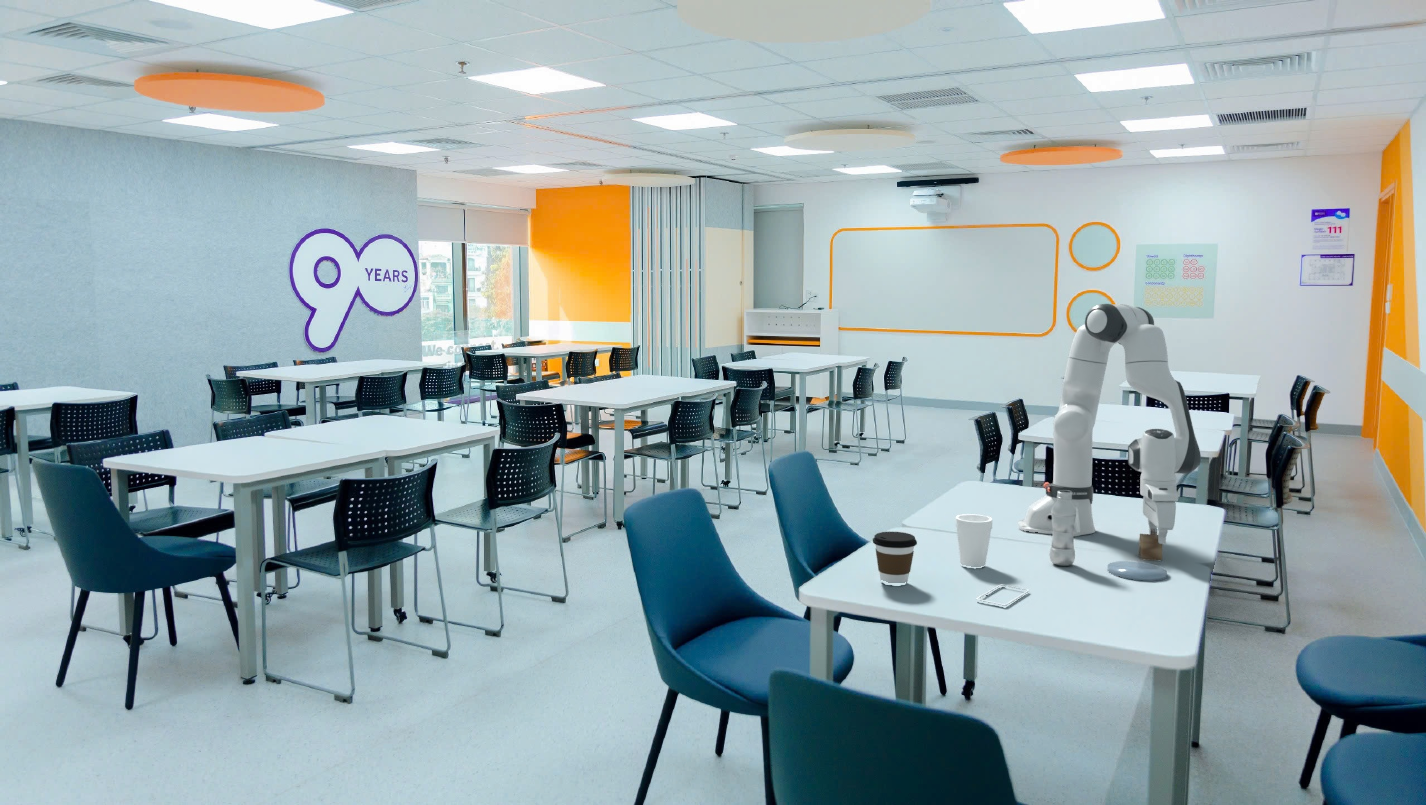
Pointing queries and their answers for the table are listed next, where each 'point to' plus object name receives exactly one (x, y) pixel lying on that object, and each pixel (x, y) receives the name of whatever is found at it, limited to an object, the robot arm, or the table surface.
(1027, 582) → the table surface
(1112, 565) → the dish
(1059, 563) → the plastic bottle
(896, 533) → the coffee cup
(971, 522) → the foam cup
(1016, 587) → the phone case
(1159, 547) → the walnut block
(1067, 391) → the robot arm
